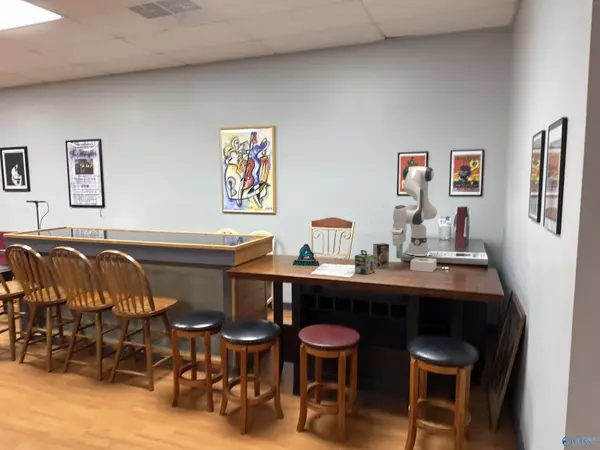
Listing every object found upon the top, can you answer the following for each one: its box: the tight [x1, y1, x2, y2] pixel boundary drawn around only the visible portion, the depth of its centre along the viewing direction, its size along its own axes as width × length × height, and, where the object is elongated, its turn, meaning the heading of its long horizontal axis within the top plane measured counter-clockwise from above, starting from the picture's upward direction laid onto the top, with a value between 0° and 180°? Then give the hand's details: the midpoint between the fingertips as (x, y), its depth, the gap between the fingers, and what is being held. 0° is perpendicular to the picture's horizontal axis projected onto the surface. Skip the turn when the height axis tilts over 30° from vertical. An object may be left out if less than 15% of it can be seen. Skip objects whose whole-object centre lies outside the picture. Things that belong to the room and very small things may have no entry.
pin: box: [395, 243, 404, 259], centre depth 277 cm, size 4×4×10 cm
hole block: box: [409, 256, 437, 273], centre depth 275 cm, size 14×14×6 cm
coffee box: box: [372, 242, 390, 270], centre depth 280 cm, size 9×6×16 cm
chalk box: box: [354, 249, 375, 276], centre depth 266 cm, size 9×9×15 cm
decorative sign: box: [292, 243, 320, 267], centre depth 291 cm, size 19×2×15 cm, turn 76°
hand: (399, 250), depth 277 cm, fingers closed on pin, 4 cm apart
